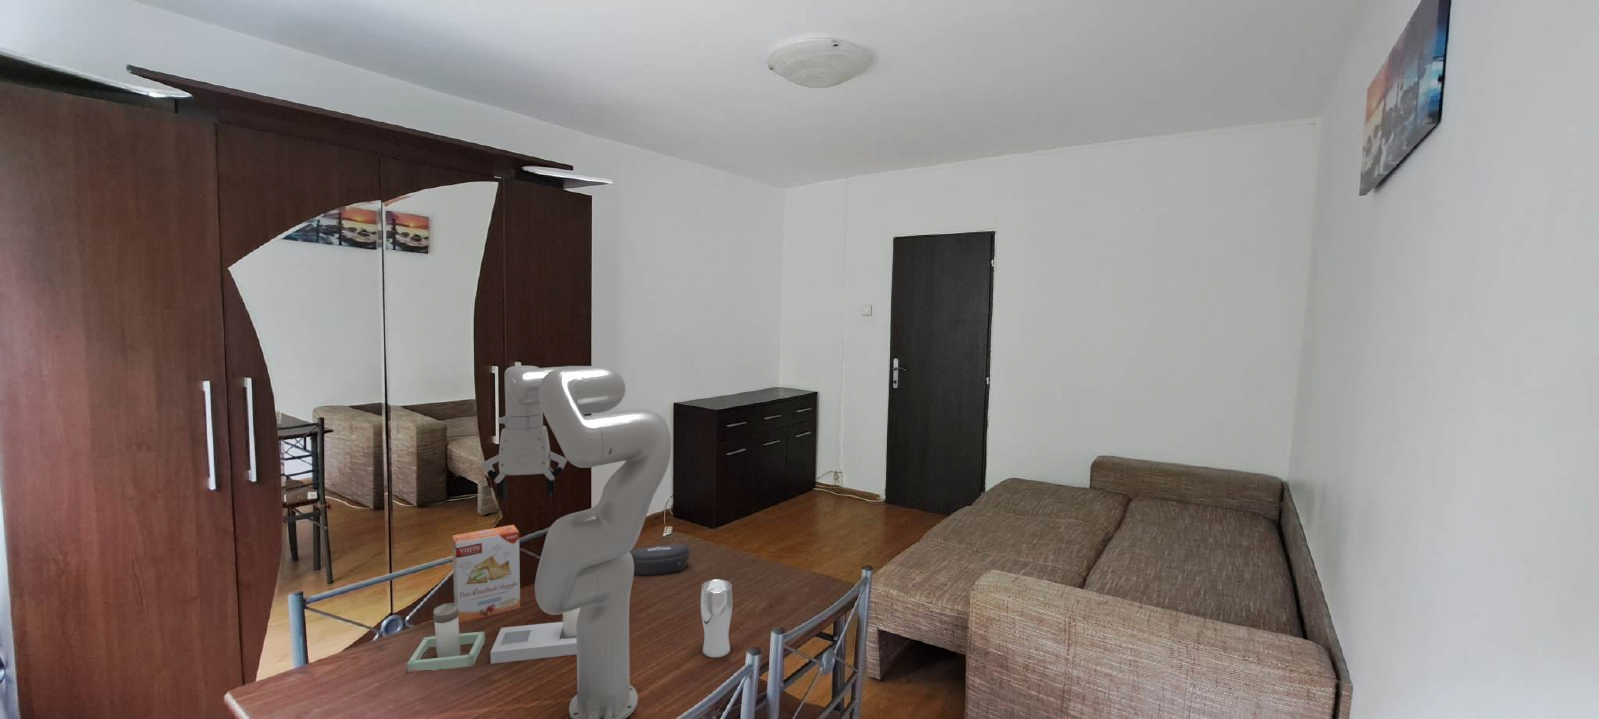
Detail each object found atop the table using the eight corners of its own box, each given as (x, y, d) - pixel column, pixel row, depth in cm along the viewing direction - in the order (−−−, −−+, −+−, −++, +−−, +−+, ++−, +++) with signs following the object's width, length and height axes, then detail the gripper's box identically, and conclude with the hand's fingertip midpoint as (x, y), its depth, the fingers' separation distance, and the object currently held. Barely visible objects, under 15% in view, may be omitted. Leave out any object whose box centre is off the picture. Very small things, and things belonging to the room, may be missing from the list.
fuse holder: (590, 656, 136) (590, 641, 136) (490, 668, 131) (490, 652, 131) (594, 632, 146) (594, 618, 145) (501, 642, 141) (501, 627, 141)
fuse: (583, 646, 138) (582, 598, 137) (561, 648, 137) (560, 601, 136) (585, 635, 142) (584, 589, 141) (564, 637, 141) (563, 591, 140)
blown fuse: (457, 661, 132) (453, 612, 131) (433, 664, 131) (429, 615, 130) (463, 649, 136) (460, 601, 135) (441, 652, 136) (437, 604, 134)
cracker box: (457, 628, 146) (454, 542, 144) (454, 617, 151) (451, 534, 149) (521, 611, 155) (519, 530, 153) (516, 602, 160) (514, 522, 158)
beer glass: (702, 661, 135) (702, 594, 134) (699, 643, 142) (699, 580, 140) (734, 656, 137) (734, 591, 135) (729, 639, 144) (729, 577, 142)
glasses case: (627, 579, 172) (626, 550, 173) (626, 577, 181) (625, 549, 183) (693, 571, 177) (691, 542, 179) (688, 569, 187) (687, 542, 189)
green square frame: (473, 670, 130) (472, 656, 130) (407, 677, 127) (407, 663, 127) (485, 643, 140) (485, 631, 140) (425, 650, 137) (424, 637, 137)
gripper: (477, 426, 132) (479, 505, 133) (563, 424, 136) (565, 500, 137) (486, 419, 139) (488, 494, 141) (568, 417, 143) (569, 490, 145)
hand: (526, 497), depth 139 cm, fingers open, 9 cm apart
